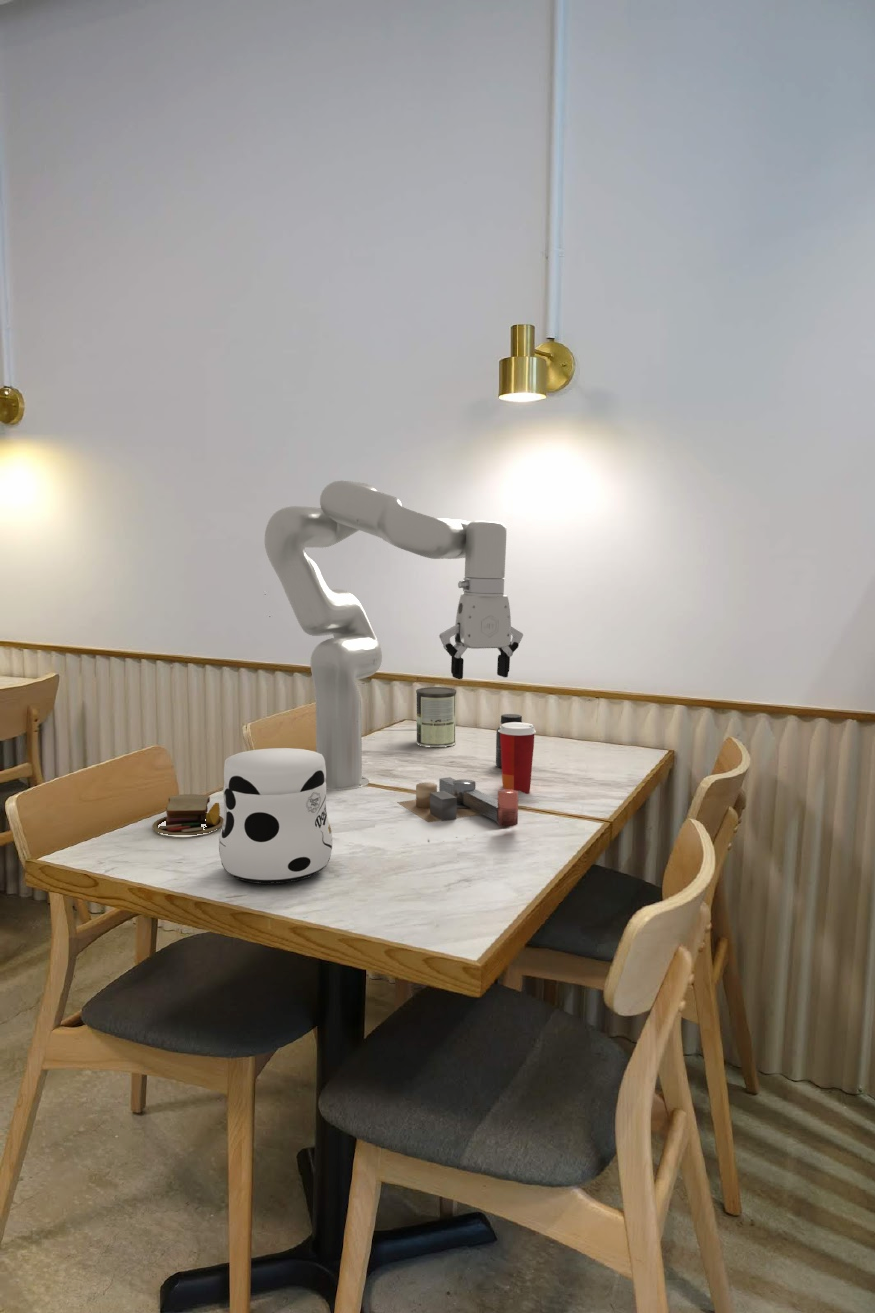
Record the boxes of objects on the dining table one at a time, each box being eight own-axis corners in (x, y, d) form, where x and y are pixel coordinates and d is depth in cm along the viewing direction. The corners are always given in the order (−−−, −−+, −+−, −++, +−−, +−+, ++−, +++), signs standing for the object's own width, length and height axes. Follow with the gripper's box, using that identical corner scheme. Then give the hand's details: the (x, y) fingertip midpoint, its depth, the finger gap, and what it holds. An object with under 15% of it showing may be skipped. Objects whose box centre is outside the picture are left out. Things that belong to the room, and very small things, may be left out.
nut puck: (424, 809, 169) (424, 789, 169) (411, 805, 173) (411, 784, 172) (441, 806, 172) (441, 785, 171) (428, 801, 175) (428, 781, 175)
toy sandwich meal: (143, 840, 155) (142, 814, 154) (164, 817, 168) (163, 792, 168) (216, 840, 155) (216, 813, 155) (231, 817, 169) (230, 792, 168)
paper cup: (537, 788, 189) (538, 722, 187) (531, 797, 182) (532, 729, 180) (501, 785, 191) (502, 720, 190) (493, 794, 184) (494, 727, 182)
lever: (434, 791, 179) (435, 763, 178) (454, 789, 181) (454, 761, 180) (502, 827, 156) (502, 795, 156) (523, 824, 158) (524, 792, 158)
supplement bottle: (526, 770, 204) (527, 718, 203) (496, 769, 204) (497, 718, 203) (524, 763, 211) (524, 712, 210) (495, 762, 211) (495, 712, 210)
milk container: (355, 870, 140) (354, 758, 138) (266, 902, 128) (263, 779, 125) (285, 845, 152) (284, 741, 150) (197, 873, 139) (194, 759, 137)
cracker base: (429, 827, 162) (429, 801, 161) (397, 807, 175) (397, 782, 174) (505, 816, 169) (506, 790, 168) (469, 797, 182) (469, 773, 181)
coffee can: (407, 743, 232) (408, 689, 230) (438, 737, 239) (438, 685, 237) (433, 750, 224) (433, 694, 223) (464, 744, 231) (464, 690, 229)
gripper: (451, 588, 162) (447, 682, 164) (533, 589, 169) (529, 678, 171) (434, 585, 168) (430, 675, 171) (514, 586, 176) (510, 672, 178)
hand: (480, 677), depth 171 cm, fingers open, 9 cm apart
